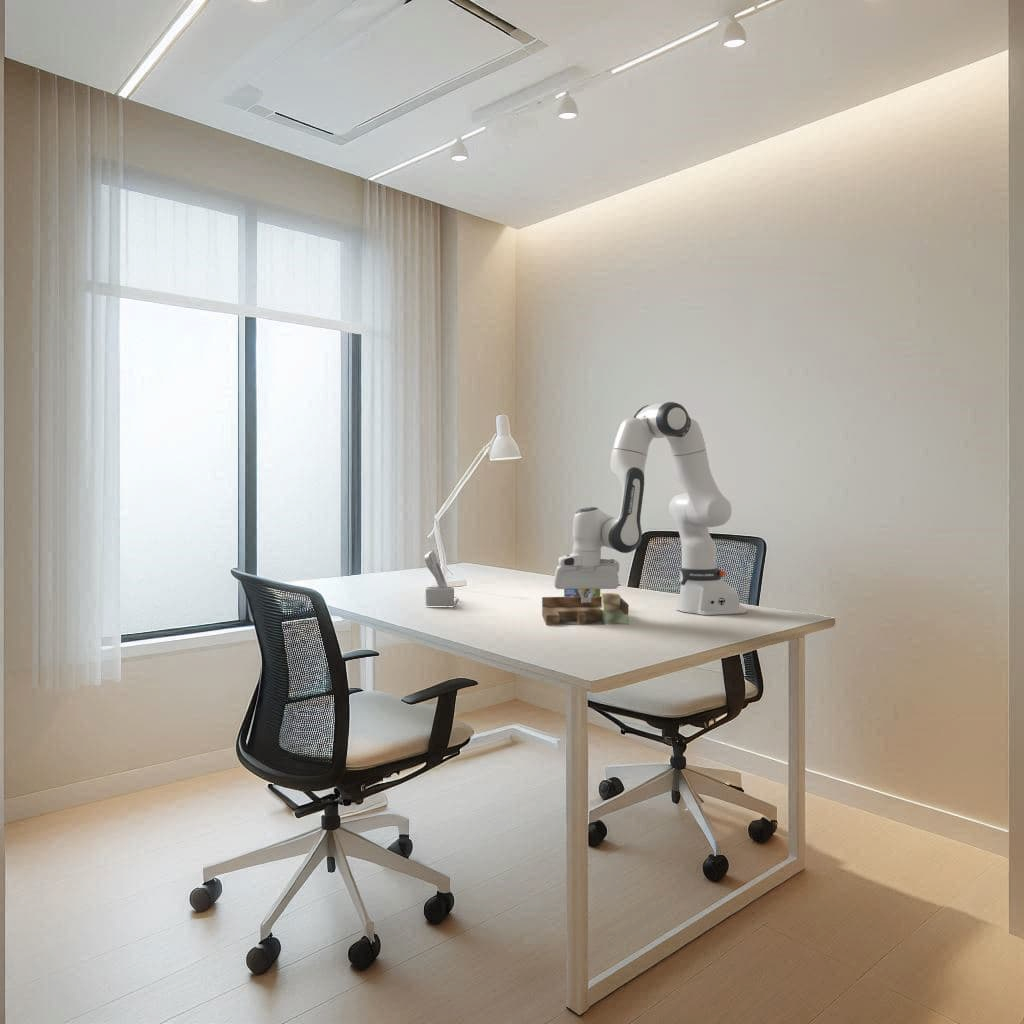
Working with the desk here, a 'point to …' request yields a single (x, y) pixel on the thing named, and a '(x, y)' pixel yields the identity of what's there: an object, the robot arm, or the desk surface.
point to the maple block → (610, 601)
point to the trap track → (581, 612)
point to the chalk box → (585, 592)
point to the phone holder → (442, 592)
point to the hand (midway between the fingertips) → (586, 602)
